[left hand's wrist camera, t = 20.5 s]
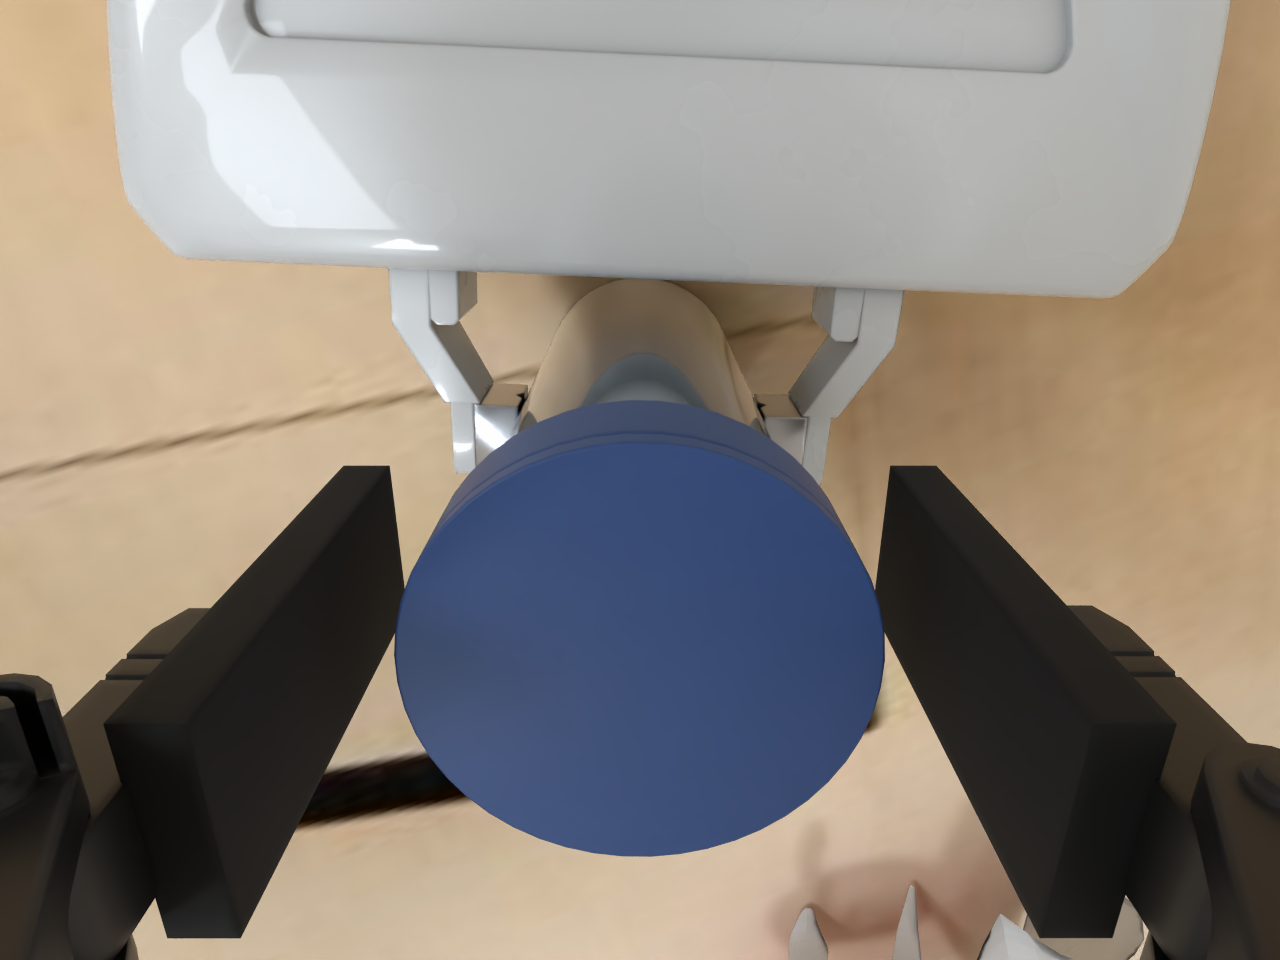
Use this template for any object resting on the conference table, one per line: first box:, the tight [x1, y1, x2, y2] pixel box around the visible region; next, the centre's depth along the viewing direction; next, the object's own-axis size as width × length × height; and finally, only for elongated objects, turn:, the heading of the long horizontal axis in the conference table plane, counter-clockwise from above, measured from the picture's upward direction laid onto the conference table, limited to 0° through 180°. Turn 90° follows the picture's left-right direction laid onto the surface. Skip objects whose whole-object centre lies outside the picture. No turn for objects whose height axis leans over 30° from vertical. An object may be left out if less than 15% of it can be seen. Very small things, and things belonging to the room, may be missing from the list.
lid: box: [394, 400, 885, 857], centre depth 11 cm, size 6×6×2 cm
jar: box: [507, 278, 772, 440], centre depth 18 cm, size 5×5×15 cm
